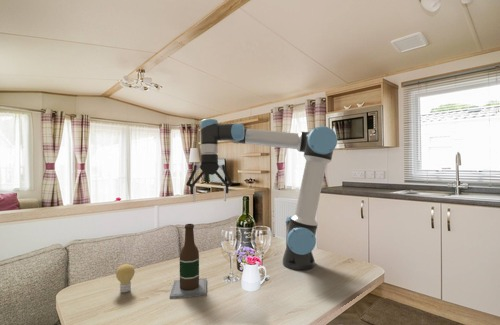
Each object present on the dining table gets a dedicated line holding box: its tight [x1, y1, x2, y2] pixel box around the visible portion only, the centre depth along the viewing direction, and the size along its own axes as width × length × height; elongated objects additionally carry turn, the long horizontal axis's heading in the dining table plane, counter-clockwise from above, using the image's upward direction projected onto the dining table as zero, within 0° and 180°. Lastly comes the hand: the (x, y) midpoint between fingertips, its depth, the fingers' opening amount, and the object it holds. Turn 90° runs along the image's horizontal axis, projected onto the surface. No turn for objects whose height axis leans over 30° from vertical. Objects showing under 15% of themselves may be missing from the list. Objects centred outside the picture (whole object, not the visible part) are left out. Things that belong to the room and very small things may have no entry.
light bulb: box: [115, 263, 136, 294], centre depth 100 cm, size 6×6×10 cm
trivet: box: [169, 277, 208, 299], centre depth 102 cm, size 13×13×1 cm
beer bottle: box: [179, 223, 200, 291], centre depth 102 cm, size 8×8×24 cm
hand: (209, 201), depth 118 cm, fingers open, 13 cm apart
